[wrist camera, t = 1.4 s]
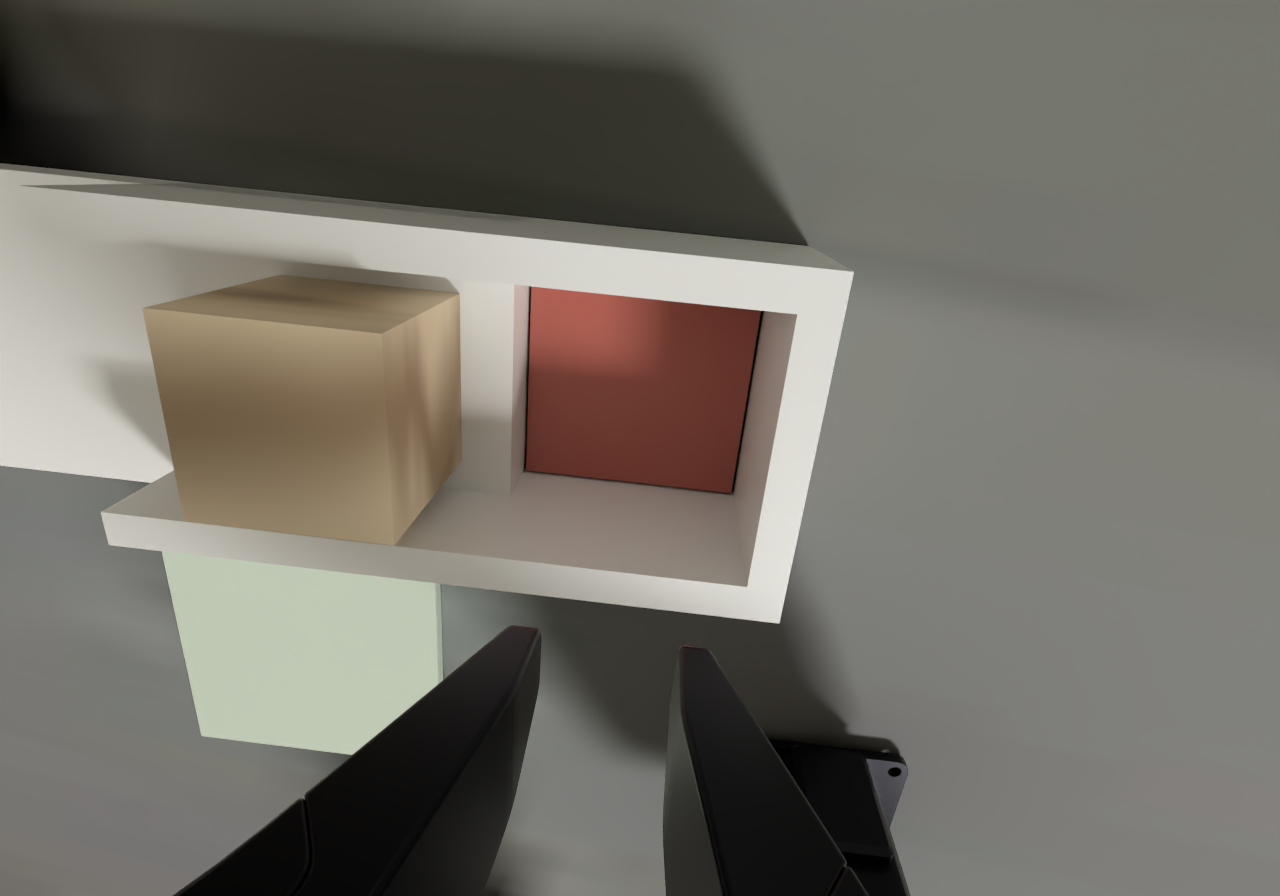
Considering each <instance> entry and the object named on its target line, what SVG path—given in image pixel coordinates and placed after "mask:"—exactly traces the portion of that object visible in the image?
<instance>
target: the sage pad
mask: <svg viewBox="0 0 1280 896" xmlns="http://www.w3.org/2000/svg"><path fill="white" fill-rule="evenodd" d="M162 555H163V560H164V564H165V569H166V574H167V578H168V583H169V588H170V592H171V597H172V601H173V606H174V611H175V615H176V620H177V625H178V629H179V634H180V638H181V643H182V648H183V652H184V657H185V662H186V666H187V671H188V675H189V680H190V685H191V689H192V694H193V699H194V703H195V708H196V713H197V717H198V722H199V726H200V731H201V736H206V737H214V738H222V739H230V740H238V741H246V742H254V743H262V744H270V745H278V746H286V747H294V748H302V749H310V750H318V751H326V752H334V753H342V754H350V755H353V754H354V753H355V752H356V751H358V750H359V749H360V748H361V747H362V746H364V745H365V744H366V743H367V742H368V741H370V740H371V739H372V738H373V737H375V736H376V735H377V734H378V733H379V732H381V731H382V730H383V729H384V728H385V727H387V726H388V725H389V724H390V723H392V722H393V721H394V720H395V719H396V718H398V717H399V716H400V715H401V714H403V713H404V712H405V711H406V710H407V709H409V708H410V707H411V706H412V705H413V704H415V703H416V702H417V701H418V700H420V699H421V698H422V697H423V696H424V695H426V694H427V693H428V692H429V691H430V690H432V689H433V688H434V687H435V686H437V685H438V684H439V683H440V682H441V681H443V659H442V624H441V588H440V584H438V583H429V582H421V581H412V580H404V579H395V578H387V577H378V576H370V575H361V574H353V573H344V572H335V571H327V570H318V569H310V568H301V567H293V566H284V565H276V564H267V563H259V562H250V561H242V560H233V559H225V558H216V557H208V556H199V555H191V554H182V553H174V552H165V551H162Z"/></svg>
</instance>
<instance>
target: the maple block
mask: <svg viewBox="0 0 1280 896" xmlns="http://www.w3.org/2000/svg"><path fill="white" fill-rule="evenodd" d="M142 309H143V314H144V320H145V325H146V330H147V335H148V340H149V345H150V350H151V355H152V360H153V365H154V370H155V375H156V381H157V386H158V391H159V396H160V401H161V406H162V411H163V416H164V421H165V426H166V431H167V436H168V441H169V447H170V452H171V457H172V462H173V467H174V472H175V477H176V482H177V487H178V492H179V497H180V502H181V508H182V513H183V518H184V521H186V522H195V523H203V524H212V525H220V526H229V527H238V528H246V529H255V530H263V531H272V532H281V533H289V534H298V535H307V536H315V537H324V538H332V539H341V540H350V541H358V542H367V543H376V544H384V545H393V546H394V545H395V544H396V543H397V542H398V540H399V539H400V538H401V536H402V535H403V534H404V533H405V531H406V530H407V529H408V528H409V526H410V525H411V524H412V523H413V521H414V520H415V519H416V518H417V516H418V515H419V514H420V512H421V511H422V510H423V509H424V507H425V506H426V505H427V504H428V502H429V501H430V500H431V499H432V497H433V496H434V495H435V494H436V492H437V491H438V490H439V489H440V487H441V486H442V485H443V483H444V482H445V481H446V480H447V478H448V477H449V476H450V475H451V473H452V472H453V471H454V470H455V468H456V467H457V466H458V465H459V463H460V462H461V461H462V434H461V352H460V293H451V292H441V291H432V290H423V289H413V288H404V287H394V286H385V285H375V284H366V283H356V282H347V281H338V280H328V279H319V278H309V277H300V276H290V275H281V274H280V275H276V276H272V277H268V278H264V279H260V280H255V281H251V282H247V283H243V284H239V285H235V286H231V287H226V288H222V289H218V290H214V291H210V292H206V293H202V294H198V295H193V296H189V297H185V298H181V299H177V300H173V301H169V302H165V303H160V304H156V305H152V306H148V307H144V308H142Z"/></svg>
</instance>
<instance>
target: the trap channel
mask: <svg viewBox="0 0 1280 896" xmlns="http://www.w3.org/2000/svg"><path fill="white" fill-rule="evenodd" d="M280 274H281V275H290V276H300V277H309V278H319V279H328V280H338V281H347V282H356V283H366V284H375V285H385V286H394V287H404V288H413V289H423V290H432V291H441V292H451V293H460V352H461V434H462V461H461V462H460V463H459V465H458V466H457V467H456V468H455V470H454V471H453V472H452V473H451V475H450V476H449V477H448V478H447V480H446V481H445V482H444V483H443V485H442V486H441V487H440V489H439V490H438V491H437V492H436V494H435V495H434V496H433V497H432V499H431V500H430V501H429V502H428V504H427V505H426V506H425V507H424V509H423V510H422V511H421V512H420V514H419V515H418V516H417V518H416V519H415V520H414V521H413V523H412V524H411V525H410V526H409V528H408V529H407V530H406V531H405V533H404V534H403V535H402V536H401V538H400V539H399V540H398V542H397V543H396V544H395V545H394V546H393V545H384V544H376V543H367V542H358V541H350V540H341V539H332V538H324V537H315V536H307V535H298V534H289V533H281V532H272V531H263V530H255V529H246V528H238V527H229V526H220V525H212V524H203V523H195V522H186V521H184V518H183V513H182V508H181V502H180V497H179V492H178V487H177V482H176V477H175V472H174V467H173V462H172V457H171V452H170V447H169V441H168V436H167V431H166V426H165V421H164V416H163V411H162V406H161V401H160V396H159V391H158V386H157V381H156V375H155V370H154V365H153V360H152V355H151V350H150V345H149V340H148V335H147V330H146V325H145V320H144V314H143V309H142V308H144V307H148V306H152V305H156V304H160V303H165V302H169V301H173V300H177V299H181V298H185V297H189V296H193V295H198V294H202V293H206V292H210V291H214V290H218V289H222V288H226V287H231V286H235V285H239V284H243V283H247V282H251V281H255V280H260V279H264V278H268V277H272V276H276V275H280ZM853 274H854V272H853V271H852V270H850V269H848V268H846V267H845V266H843V265H841V264H839V263H838V262H836V261H834V260H832V259H831V258H829V257H827V256H826V255H824V254H822V253H820V252H819V251H817V250H815V249H813V248H812V247H810V246H803V245H794V244H784V243H774V242H764V241H755V240H745V239H735V238H725V237H716V236H706V235H696V234H686V233H677V232H667V231H657V230H647V229H638V228H628V227H618V226H608V225H599V224H589V223H579V222H569V221H560V220H550V219H540V218H530V217H521V216H511V215H501V214H492V213H482V212H472V211H462V210H453V209H443V208H433V207H423V206H414V205H404V204H394V203H384V202H375V201H365V200H355V199H345V198H336V197H326V196H316V195H306V194H297V193H287V192H277V191H267V190H258V189H248V188H238V187H228V186H219V185H209V184H199V183H189V182H180V181H170V180H160V179H150V178H141V177H131V176H121V175H111V174H102V173H92V172H82V171H72V170H63V169H53V168H43V167H33V166H24V165H14V164H4V163H0V465H1V466H10V467H18V468H27V469H36V470H44V471H53V472H62V473H71V474H79V475H88V476H97V477H105V478H114V479H123V480H132V481H140V482H149V483H150V484H149V485H147V486H145V487H144V488H142V489H140V490H138V491H137V492H135V493H133V494H131V495H130V496H128V497H126V498H124V499H123V500H121V501H119V502H117V503H116V504H114V505H112V506H110V507H109V508H107V509H105V510H103V511H102V512H101V515H102V519H103V523H104V527H105V531H106V535H107V539H108V543H109V545H114V546H122V547H131V548H139V549H148V550H156V551H165V552H174V553H182V554H191V555H199V556H208V557H216V558H225V559H233V560H242V561H250V562H259V563H267V564H276V565H284V566H293V567H301V568H310V569H318V570H327V571H335V572H344V573H353V574H361V575H370V576H378V577H387V578H395V579H404V580H412V581H421V582H429V583H438V584H446V585H455V586H463V587H472V588H480V589H489V590H497V591H506V592H514V593H523V594H531V595H540V596H549V597H557V598H566V599H574V600H583V601H591V602H600V603H608V604H617V605H625V606H634V607H642V608H651V609H659V610H668V611H676V612H685V613H693V614H702V615H710V616H719V617H728V618H736V619H745V620H753V621H762V622H770V623H780V618H781V614H782V609H783V604H784V600H785V595H786V590H787V585H788V581H789V576H790V571H791V567H792V562H793V557H794V552H795V548H796V543H797V538H798V533H799V529H800V524H801V519H802V515H803V510H804V505H805V500H806V496H807V491H808V486H809V482H810V477H811V472H812V467H813V463H814V458H815V453H816V449H817V444H818V439H819V434H820V430H821V425H822V420H823V416H824V411H825V406H826V401H827V397H828V392H829V387H830V383H831V378H832V373H833V368H834V364H835V359H836V354H837V350H838V345H839V340H840V335H841V331H842V326H843V321H844V316H845V312H846V307H847V302H848V298H849V293H850V288H851V283H852V279H853ZM530 286H531V317H530V352H529V386H528V421H527V456H526V469H525V454H526V418H527V383H528V347H529V311H530ZM761 311H763V314H762V320H761V326H760V333H759V339H758V345H757V351H756V357H755V363H754V369H753V375H752V381H751V387H750V394H749V400H748V406H747V412H746V418H745V424H744V430H743V436H742V442H741V448H740V455H739V461H738V467H737V473H736V479H735V485H734V491H733V492H732V486H733V480H734V474H735V467H736V461H737V455H738V449H739V443H740V437H741V431H742V424H743V418H744V412H745V406H746V400H747V394H748V388H749V381H750V375H751V369H752V363H753V357H754V351H755V345H756V338H757V332H758V326H759V320H760V314H761Z"/></svg>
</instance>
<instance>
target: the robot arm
mask: <svg viewBox="0 0 1280 896" xmlns="http://www.w3.org/2000/svg"><path fill="white" fill-rule="evenodd" d="M540 658H541V633H540V630H539V629H537V628H532V627H524V626H515V625H514V626H509V627H507V628H506V629H505V630H503V631H502V632H501V633H500V634H499V635H497V636H496V637H495V638H494V639H493V640H491V641H490V642H489V643H488V644H486V645H485V646H484V647H483V648H482V649H480V650H479V651H478V652H477V653H475V654H474V655H473V656H472V657H471V658H469V659H468V660H467V661H466V662H465V663H463V664H462V665H461V666H460V667H458V668H457V669H456V670H455V671H454V672H452V673H451V674H450V675H449V676H448V677H446V678H445V679H444V680H443V681H441V682H440V683H439V684H438V685H437V686H435V687H434V688H433V689H432V690H430V691H429V692H428V693H427V694H426V695H424V696H423V697H422V698H421V699H420V700H418V701H417V702H416V703H415V704H413V705H412V706H411V707H410V708H409V709H407V710H406V711H405V712H404V713H403V714H401V715H400V716H399V717H398V718H396V719H395V720H394V721H393V722H392V723H390V724H389V725H388V726H387V727H385V728H384V729H383V730H382V731H381V732H379V733H378V734H377V735H376V736H375V737H373V738H372V739H371V740H370V741H368V742H367V743H366V744H365V745H364V746H362V747H361V748H360V749H359V750H358V751H356V752H355V753H354V754H353V755H351V756H350V757H349V758H348V759H347V760H345V761H344V762H343V763H342V764H341V765H339V766H338V767H337V768H336V769H334V770H333V771H332V772H331V773H330V774H328V775H327V776H326V777H325V778H323V779H322V780H321V781H320V782H319V783H317V784H316V785H315V786H314V787H313V788H311V789H310V790H309V791H308V792H307V793H306V794H305V800H304V799H302V798H300V799H298V800H296V801H295V802H294V803H293V804H291V805H290V806H289V807H288V808H287V809H285V810H284V811H283V812H282V813H280V814H279V815H278V816H277V817H276V818H274V819H273V820H272V821H271V822H270V823H268V824H267V825H266V826H264V827H263V828H262V829H261V830H259V831H258V832H257V833H256V834H254V835H253V836H252V837H250V838H249V839H248V840H247V841H245V842H244V843H243V844H242V845H240V846H239V847H238V848H236V849H235V850H234V851H233V852H231V853H230V854H229V855H228V856H226V857H225V858H224V859H222V860H221V861H220V862H219V863H217V864H216V865H214V866H213V867H212V868H210V869H209V870H207V871H206V872H205V873H203V874H202V875H201V876H199V877H198V878H196V879H195V880H194V881H192V882H191V883H190V884H188V885H187V886H185V887H184V888H183V889H181V890H180V891H178V892H177V893H176V894H174V895H173V896H483V893H484V890H485V887H486V885H487V882H488V879H489V876H490V873H491V870H492V867H493V864H494V861H495V858H496V855H497V852H498V850H499V847H500V844H501V841H502V838H503V835H504V832H505V829H506V826H507V823H508V820H509V816H510V813H511V810H512V806H513V802H514V798H515V794H516V790H517V786H518V782H519V777H520V772H521V768H522V763H523V759H524V754H525V750H526V745H527V740H528V736H529V731H530V727H531V722H532V718H533V713H534V708H535V704H536V699H537V695H538V689H539V680H540ZM893 767H895V768H893ZM907 775H908V768H907V766H906V763H905V761H904V759H903V757H901V756H900V755H897V754H891V753H882V752H874V751H866V750H858V749H850V748H841V747H833V746H825V745H817V744H809V743H800V742H792V741H784V740H776V739H768V738H767V737H766V735H765V734H764V732H763V731H762V729H761V727H760V726H759V724H758V723H757V721H756V720H755V718H754V717H753V715H752V714H751V712H750V710H749V709H748V707H747V706H746V704H745V703H744V701H743V700H742V698H741V696H740V695H739V693H738V692H737V690H736V689H735V687H734V686H733V684H732V682H731V681H730V679H729V678H728V676H727V675H726V673H725V672H724V670H723V668H722V667H721V665H720V664H719V662H718V661H717V659H716V658H715V656H714V655H713V653H712V652H711V651H710V650H709V649H708V648H703V647H694V646H686V645H682V646H680V647H679V648H678V651H677V656H676V663H675V670H674V677H673V684H672V691H671V699H670V710H669V726H668V742H667V758H666V774H665V791H664V807H663V847H664V866H665V884H666V896H910V893H909V890H908V887H907V883H906V880H905V877H904V874H903V870H902V867H901V864H900V861H899V857H898V854H897V851H896V848H895V845H894V841H893V838H892V835H891V832H890V825H891V822H892V819H893V816H894V813H895V810H896V807H897V804H898V801H899V798H900V795H901V792H902V790H903V787H904V784H905V781H906V778H907Z"/></svg>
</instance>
